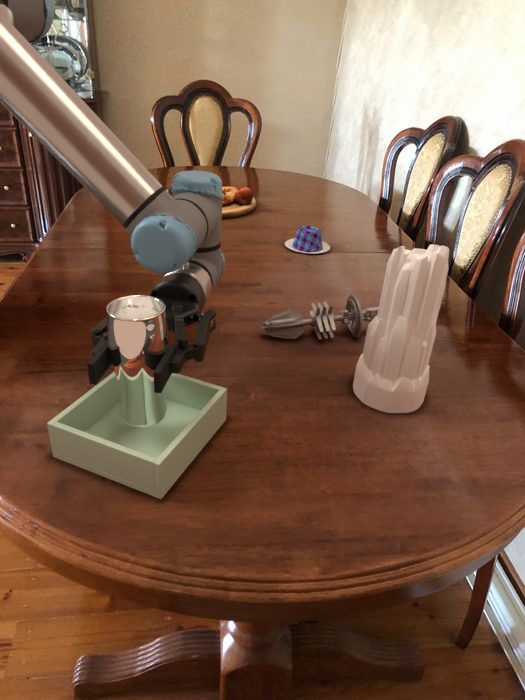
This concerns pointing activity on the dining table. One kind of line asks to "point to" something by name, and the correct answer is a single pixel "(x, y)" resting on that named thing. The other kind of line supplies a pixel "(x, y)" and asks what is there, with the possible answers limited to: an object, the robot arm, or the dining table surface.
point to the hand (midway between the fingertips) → (124, 378)
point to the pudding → (308, 241)
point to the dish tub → (139, 433)
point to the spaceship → (320, 320)
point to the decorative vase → (403, 331)
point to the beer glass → (138, 356)
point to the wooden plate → (233, 201)
